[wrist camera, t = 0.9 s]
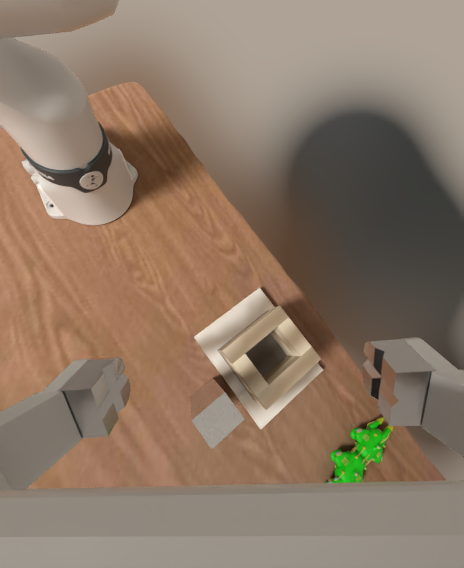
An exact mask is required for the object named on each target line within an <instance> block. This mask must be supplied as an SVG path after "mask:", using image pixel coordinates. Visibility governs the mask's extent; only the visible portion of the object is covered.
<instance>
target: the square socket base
mask: <svg viewBox="0 0 464 568" xmlns="http://www.w3.org/2000/svg"><path fill="white" fill-rule="evenodd" d="M194 338H195V340H196V341H197V342H198V344H199V345H200V347H201V348H202V349H203V351H204V352H205V353H206V355H207V356H208V358H209V359H210V360H211V362H212V363H213V364H214V366H215V367H216V369H217V370H218V371H219V373H220V374H221V376H222V377H223V378H224V380H225V381H226V382H227V384H228V385H229V387H230V388H231V389H232V391H233V392H234V393H235V395H236V396H237V398H238V399H239V400H240V402H241V403H242V405H243V406H244V407H245V409H246V410H247V411H248V413H249V414H250V416H251V417H252V418H253V420H254V421H255V422H256V424H257V425H258V427H259V428H260V429H262V428H263V427H264V426H265V425H266V424H267V423H268V422H269V421H270V420H271V419H272V418H273V417H274V416H275V415H277V414H278V413H279V412H280V411H281V410H282V409H283V408H284V407H285V406H286V405H287V404H288V403H289V402H290V401H291V400H292V399H293V398H294V397H295V396H296V395H298V394H299V393H300V392H301V391H302V390H303V389H304V388H305V387H306V386H307V385H308V384H309V383H310V382H311V381H312V380H313V379H314V378H315V377H316V376H317V375H318V374H320V373H321V372H322V371H323V369H322V368H321V367H320V365H319V364H318V362H319V361H320V360H321V358H320V357H319V356H318V354H317V353H316V352H315V350H314V349H313V348H312V346H311V345H310V344H309V343H308V341H307V340H306V339H305V337H304V336H303V335H302V334H301V332H300V331H299V330H298V328H297V327H296V326H295V325H294V323H293V322H292V321H291V319H290V318H289V317H288V315H287V314H286V313H285V312H284V310H283V309H282V308H281V306H280V305H279V306H277V307H274V306H273V304H272V303H271V302H270V300H269V299H268V298H267V297H266V295H265V294H264V293H263V291H262V290H261V289H260V288H259V289H257V290H256V291H255V292H253V293H252V294H251V295H249V296H248V297H247V298H245V299H244V300H243V301H241V302H240V303H239V304H237V305H236V306H235V307H233V308H232V309H231V310H229V311H228V312H227V313H225V314H224V315H223V316H221V317H220V318H219V319H217V320H216V321H215V322H213V323H212V324H211V325H209V326H208V327H207V328H205V329H204V330H203V331H201V332H200V333H199V334H197V335H196V336H195V337H194Z"/></svg>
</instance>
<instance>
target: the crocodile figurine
mask: <svg viewBox="0 0 464 568" xmlns="http://www.w3.org/2000/svg"><path fill="white" fill-rule="evenodd" d="M383 420H384V417H382V418H379V419H377V421H373V422H370V423H371V424H370V423H368V424H369V425H368V424H367V427H366V429H361V428H356V429H353V430H352V431H351V437H352V438H353V439H355V440H357V443H356V442H355V444H356V445H355V446H356V448H353V449H354V450H353V449H352V450H351V451H347V452H341V451H342V450H335V451H333V452H332V454H331V459H332V461H334V462H335V463H336V465H337V466H335V465H334V466H335V472H334V473H335V477H336V478H331V479H328V483H357V482H363V480H362V479H363V470H367V469H366V466H367V465H366V466H365V464H368V463H369V462H370V461H371V460H373V461H374V462H376V463H380V461H382V459H383V456H382V455H383V447H386V446H385V445H384V444H385V442H386V440H387V439H388V438H389V435H390V433H391V432H392V431H393V428H394V427H393V426H389V425H388V426H386V427H387V428H386V427H385V429H384V428H383V429H384V430H383V431H381V430H380V429H378V428H377V427H378V425H379V424H381V423H382V421H383ZM368 427H369V428H368ZM367 428H368V429H367ZM355 449H356V451H355ZM365 460H367V461H368V460H370V461H368V463H365ZM367 461H366V462H367ZM325 483H327V482H325Z"/></svg>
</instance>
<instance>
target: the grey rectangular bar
mask: <svg viewBox="0 0 464 568" xmlns="http://www.w3.org/2000/svg"><path fill="white" fill-rule="evenodd" d="M190 401H191V419H192V422H193V423H194V425H195V426H196V428H197V429H198V430H199V432H200V433H201V435H202V436H203V438H204V439H205V440H206V442H207V443H208V445H209V446H210V448H211V449H213V448H214V447H215V446H216V445H217V444H218V443H219V442H220V441H221V440H222V439H223V438H225V437H226V436H227V435H228V434H229V433H230V432H231V431H232V430H233V429H234V428H235V427H237V426H238V425H239V424H240V423H241V422H242V421H243V420H244V418H243V416H242V415H241V414H240V412H239V411H238V409H237V408H236V407H235V405H234V404H233V402H232V401H231V400H230V398H229V397H228V396H227V394H226V393H225V391H224V390H223V389H222V388H221V387H220V386H219V384H218V383H217V382H216V381H215V380H214V379H213V378H212V379H211V380H210V381H208V382H207V383H206V384H205V385H203V386H202V387H201V388H200V389H199V390H197V391H196V392H195V393H194V394H193V395H191V396H190Z"/></svg>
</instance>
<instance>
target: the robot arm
mask: <svg viewBox="0 0 464 568" xmlns="http://www.w3.org/2000/svg"><path fill="white" fill-rule="evenodd" d="M118 2H119V0H0V125H1V126H2V127H3V128H4V129H5V130H6V131H7V132H8V133H9V134H10V135H11V137H12V138H13V139H14V140H15V141H16V142H17V143H18V144H19V146H20V148H21V150H22V153H23V154H24V156H25V158H26V160H24V161H23V162H22V164H23V166H24V168H25V169H26V171H27V172H28V173H29V174H31V175H33V176H31V178H32V180H33V182H34V183H35V184H36V185H37V188H38V190H39V193H40V195H41V198H42V201H43V203H44V206H45V208H46V211H47V213H48V214H49V216H50V217H52V218H55V219H70V220H73V221H76V222H78V223H82V224H86V225H100V224H105V223H109V222H111V221H114V220H115V219H117V218H119V217H120V216H121V215H123V214H124V213H125V212H126V210H127V209H128V208H129V206H130V204H131V201H132V198H133V186H134V183H135V182H136V180H137V177H138V173H137V170H136V169H135V168H134V167H133V166H132V165H131V164H130V163H128V162H127V161H126V160H125V159H124V157H123V154H122V152H121V151H120V149H117V148H116V147H115V146H114V145H113V144H112V143H110V142H109V139H108V137H107V134H106V133H105V131H104V129H103V127H102V126H101V124H100V123H99V122H98V121H97V118H96V116H95V113H94V111H93V108H92V106H91V103H90V101H89V98H88V96H87V93H86V91H85V89H84V86H83V84H82V83H81V81H80V80H79V79H78V77H77V76H76V75H75V74H74V73H73V72H72V71H71V70H70V69H69V68H68V67H67V66H66V65H65V64H64V63H62V62H61V61H60V60H59V59H57V58H56V57H54V56H53V55H51V54H49V53H47V52H45V51H43V50H41V49H38V48H36V47H33V46H30V45H28V44H25V43H23V42H20V41H18V40H16V39H14V38H13V37H22V36H32V35H41V34H51V33H61V32H71V31H74V30H77V29H80V28H82V27H85V26H88V25H90V24H93V23H96V22H98V21H100V20H102V19H105V18H107V17H109V16H111V15H113V14H114V12H115V10H116V8H117V5H118ZM53 205H54V207H52V206H53ZM364 354H365V355H366V357H367V358H368V360H367V361H366V362H365V363H364V364H363V378H364V383H365V385H366V388H367V390H368V392H369V394H370V395H371V396H372V397H374V398H376V399H377V400H378V408H379V410H380V412H381V413H382V415H383V416H384V418H385V420H386V421H387V423H388V425H389V426H422V428H424V429H425V430H426V431H428V432H429V433H430V434H432V435H433V436H435V437H436V438H437V439H439V440H440V441H442V442H443V443H444V444H446V445H447V446H448V447H450V448H451V449H452V450H454V451H455V452H457V453H458V454H460V455H461V456H462V457H463V458H464V370H458V369H456V368H455V367H454V366H453V365H452V364H450V363H449V362H448V361H447V360H446V359H444V358H443V357H442V356H441V355H440V354H439V353H437V352H436V351H435V350H434V349H432V348H431V347H430V346H429V345H428V344H427V343H425V342H424V341H423V340H422V339H420V338H417V337H415V338H405V339H397V340H385V341H373V342H366V344H365V348H364ZM124 369H125V366H124V363H123V360H122V359H120V358H119V357H115V358H92V359H78V360H75V361H73V362H72V363H71V364H70V365H69V366H68V367H67V368H66V369H65V370H64V371H63V372H62V373H61V374H60V375H59V376H58V377H57V378H56V379H55V380H54V381H53V382H52V383H51V384H50V385H49V386H47V387H46V388H45V389H44V390H43V391H42V392H40V393H35V394H33V395H32V396H30V397H28V398H26V399H24V400H22V401H20V402H18V403H16V404H14V405H12V406H11V407H9V408H7V409H5V410H3V411H1V412H0V568H464V480H462V481H461V480H459V481H408V482H357V483H306V484H255V485H205V486H156V487H106V488H56V489H27V488H28V487H29V486H30V485H31V484H32V483H33V482H35V481H36V480H37V479H38V478H39V477H40V476H41V475H43V474H44V473H45V472H46V471H47V470H48V469H49V468H50V467H52V466H53V465H54V464H55V463H56V462H57V461H58V460H59V459H61V458H62V457H63V456H64V455H65V454H66V453H67V452H69V451H70V450H71V449H72V448H73V447H74V446H75V445H76V444H78V443H79V442H80V441H81V440H82V438H91V437H106V436H109V434H110V432H111V431H112V429H113V427H114V425H115V424H116V422H117V420H118V414H117V413H118V412H119V411H120V410H121V409H123V408H124V407H125V406H126V404H127V402H128V400H129V395H130V383H129V379H128V378H127V377H126V376H125V375H124V374H123V371H124Z"/></svg>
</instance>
